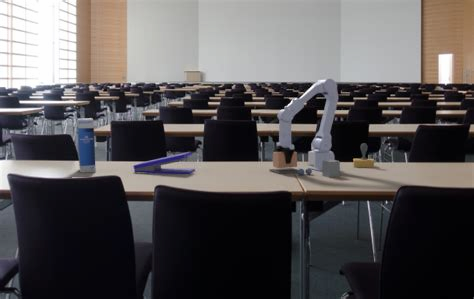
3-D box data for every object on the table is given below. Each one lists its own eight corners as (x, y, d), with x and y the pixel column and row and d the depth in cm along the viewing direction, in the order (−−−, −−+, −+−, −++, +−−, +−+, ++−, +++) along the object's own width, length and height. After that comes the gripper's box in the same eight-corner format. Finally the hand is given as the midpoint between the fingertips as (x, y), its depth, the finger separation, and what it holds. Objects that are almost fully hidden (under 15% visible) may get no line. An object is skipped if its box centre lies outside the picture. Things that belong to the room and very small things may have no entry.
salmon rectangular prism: (291, 165, 259) (291, 150, 258) (297, 166, 254) (297, 152, 253) (273, 166, 255) (273, 152, 255) (278, 168, 250) (278, 153, 249)
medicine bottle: (314, 163, 280) (314, 140, 279) (326, 164, 276) (326, 141, 275) (307, 165, 275) (308, 142, 273) (320, 166, 271) (320, 142, 269)
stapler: (188, 175, 250) (187, 154, 249) (132, 173, 256) (132, 153, 255) (195, 171, 261) (194, 151, 260) (142, 169, 267) (141, 150, 266)
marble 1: (302, 174, 247) (302, 168, 246) (305, 175, 244) (305, 168, 244) (296, 174, 246) (296, 168, 245) (299, 175, 243) (299, 169, 242)
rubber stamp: (373, 166, 270) (373, 142, 269) (373, 167, 265) (374, 143, 263) (353, 165, 272) (353, 142, 271) (353, 167, 267) (354, 143, 265)
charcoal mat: (291, 169, 262) (291, 167, 262) (301, 172, 253) (301, 170, 253) (269, 170, 257) (269, 169, 257) (278, 174, 248) (278, 172, 248)
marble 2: (309, 173, 248) (309, 167, 248) (313, 174, 245) (313, 168, 245) (304, 174, 247) (304, 167, 247) (307, 175, 244) (307, 168, 244)
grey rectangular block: (332, 174, 245) (333, 159, 244) (339, 176, 240) (339, 161, 239) (322, 175, 243) (322, 160, 242) (328, 177, 238) (329, 161, 237)
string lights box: (96, 172, 258) (93, 119, 255) (79, 173, 256) (77, 119, 253) (94, 168, 271) (92, 117, 268) (79, 169, 269) (76, 118, 266)
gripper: (270, 133, 258) (271, 161, 260) (284, 136, 245) (284, 165, 246) (283, 133, 261) (283, 160, 262) (298, 135, 247) (298, 164, 249)
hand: (285, 162), depth 254 cm, fingers closed on salmon rectangular prism, 6 cm apart
